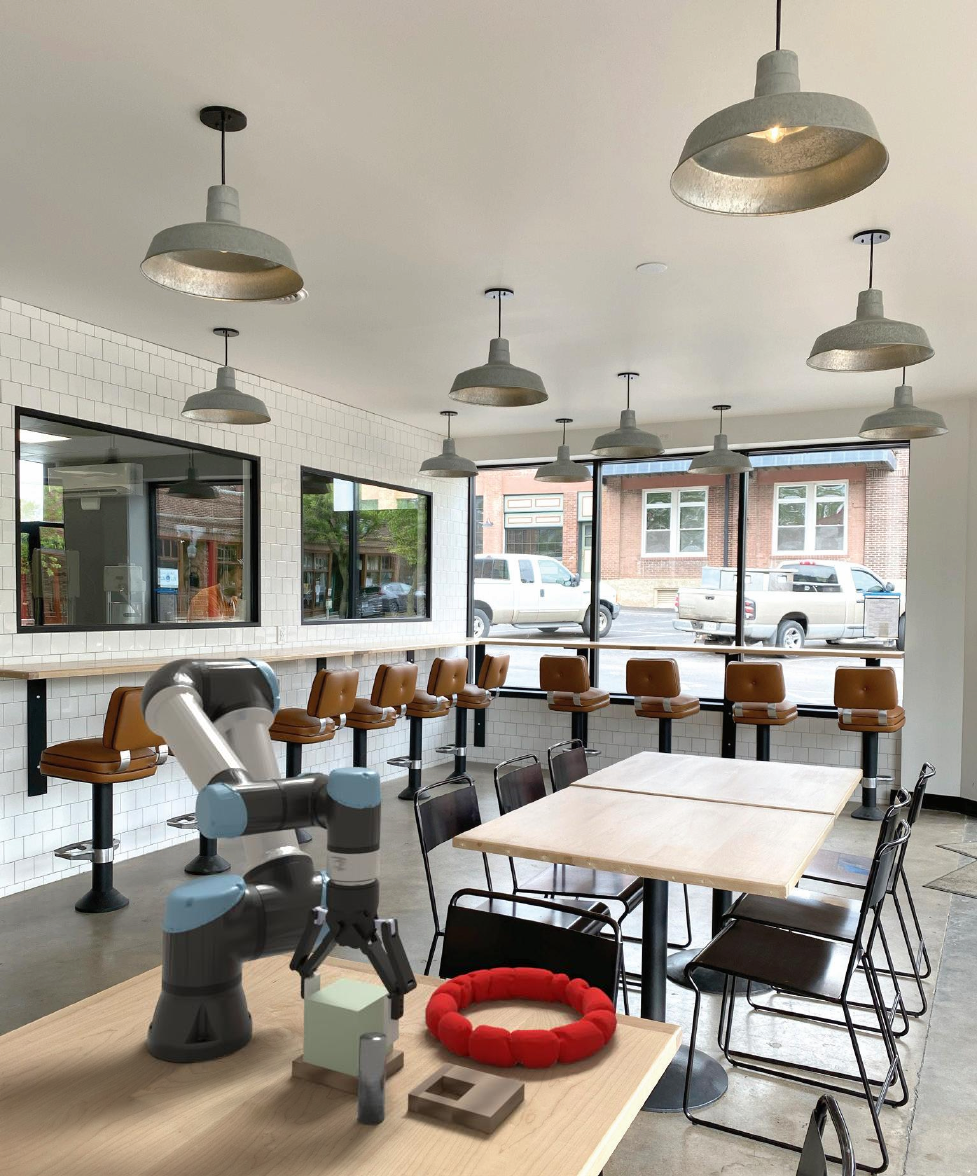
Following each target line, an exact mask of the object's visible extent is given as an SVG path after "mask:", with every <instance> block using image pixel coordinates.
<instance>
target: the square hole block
mask: <svg viewBox="0 0 977 1176" xmlns="http://www.w3.org/2000/svg"><path fill="white" fill-rule="evenodd" d="M525 1088H526V1087H525V1082H522V1081H519V1080H514V1079H511V1078H507V1077H503V1076H498V1075H496V1074H493V1073H489V1072H488V1073H487V1072H484V1071H480V1070H476V1069H473V1068H468V1067H465V1066H461V1065H457V1064H453V1063H450V1062H445V1063H444V1064H443V1065H441V1066H440V1067H439V1068H438V1069H436V1071H434V1072H433V1073H432V1074H430V1075H429V1076H428V1077H426V1078H425V1079H424V1080H423V1081H422V1082H420V1084H419V1085H417V1086H416V1087H414V1088H413V1089H412V1090H411V1091H410V1092H408V1094H407V1096H408V1097H407V1110H409V1111H411V1112H414V1113H415V1112H416V1113H418V1114H422V1115H424V1116H425V1115H426V1116H428V1117H432V1118H434V1119H435V1118H436V1119H439V1120H441V1121H442V1120H443V1121H445V1122H449V1123H453V1124H456V1125H458V1126H463V1127H466V1128H469V1129H472V1130H476V1131H479V1132H483V1133H486V1134H491V1133H493V1131H494V1130H496V1128H498V1127H499V1125H500V1124H501V1123H502V1122H503V1121H504V1120H505V1119H506V1118H507V1117H508V1116H509V1115H511V1113H512V1111H514V1110H515V1109H516V1108H517V1106H518V1105H520V1103H522V1101H523V1100H524V1099H525ZM442 1092H446V1093H449V1094H450V1093H451V1094H453V1095H457V1096H460V1098H459V1099H458V1100H455V1099H452V1098H449V1097H445V1096H442V1095H440V1094H441V1093H442Z"/></svg>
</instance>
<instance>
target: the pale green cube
mask: <svg viewBox="0 0 977 1176" xmlns="http://www.w3.org/2000/svg"><path fill="white" fill-rule="evenodd" d="M387 994H389V993H388V991H387V989H386V988H385V986H382V985H377V984H372V983H368V982H363V981H359V980H355V979H351V978H348V977H347V978H346V977H342V978H339V979H338V980H336V981H334V982H333V983H331V984H329V985H327V986H324V987H323V988H320V991H318V992H316V993H314V994H312V995H310V996H308V997H307V998H305V1007H304V1006H303V1046H302V1047H303V1049H302V1050H303V1052H302V1054H303V1062H306V1063H310V1064H313V1065H317V1066H320V1067H324V1068H327V1069H331V1070H334V1071H338V1072H341V1073H345V1074H348V1075H352V1076H355V1077H357V1076H358V1075H359V1043H360V1036H361V1035H362V1034H364V1033H368V1032H380V1033H383V1028H384V996H385V995H387ZM393 1049H394V1042H393V1043H392V1044H390V1045H389V1046H386V1055H388V1054H389V1053H390V1052H392V1051H393Z"/></svg>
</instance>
